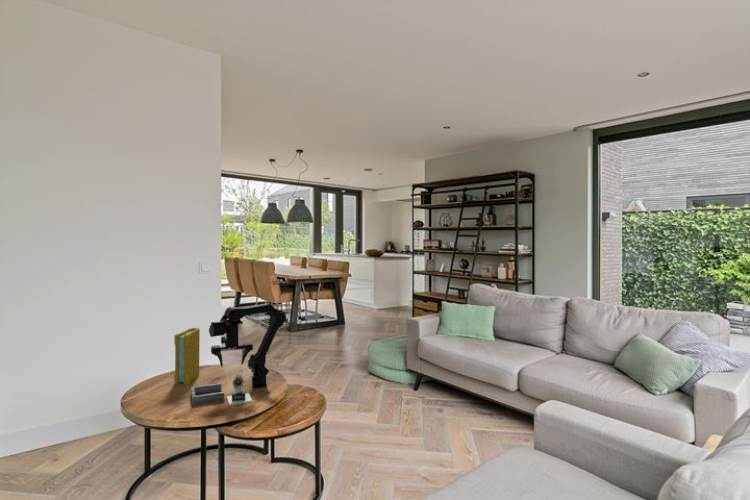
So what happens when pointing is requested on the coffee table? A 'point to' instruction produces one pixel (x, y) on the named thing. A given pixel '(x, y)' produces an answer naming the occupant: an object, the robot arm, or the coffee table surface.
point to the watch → (238, 388)
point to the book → (186, 355)
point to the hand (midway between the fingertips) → (232, 365)
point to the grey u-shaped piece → (206, 397)
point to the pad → (247, 400)
